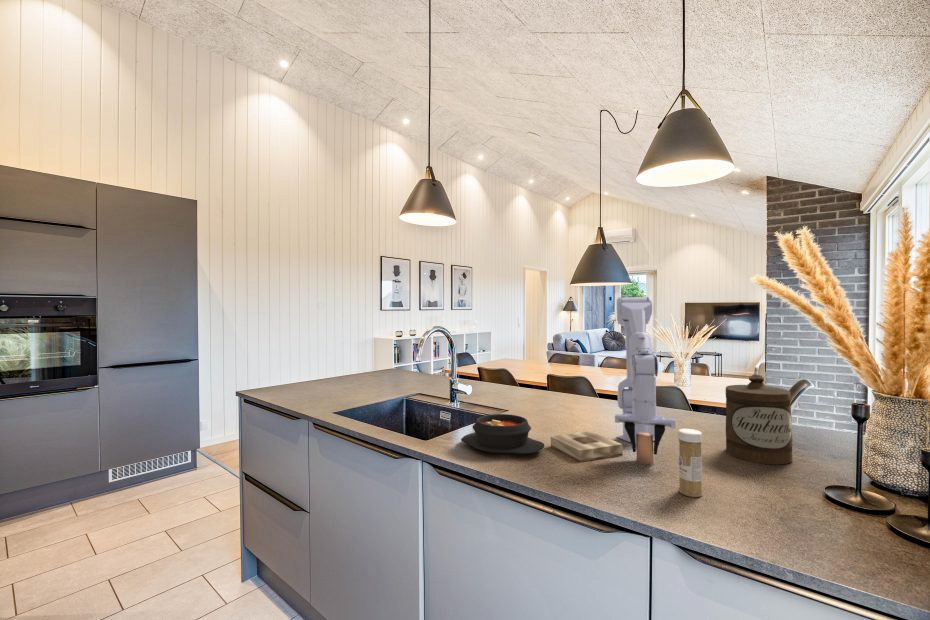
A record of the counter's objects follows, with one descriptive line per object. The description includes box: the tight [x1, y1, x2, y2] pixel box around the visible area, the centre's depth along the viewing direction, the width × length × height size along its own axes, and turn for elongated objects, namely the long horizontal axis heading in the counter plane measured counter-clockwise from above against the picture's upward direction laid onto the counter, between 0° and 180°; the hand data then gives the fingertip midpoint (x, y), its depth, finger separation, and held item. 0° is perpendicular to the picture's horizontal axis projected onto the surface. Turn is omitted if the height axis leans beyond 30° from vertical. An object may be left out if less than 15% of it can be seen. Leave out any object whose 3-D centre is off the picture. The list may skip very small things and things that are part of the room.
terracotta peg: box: [636, 433, 654, 465], centre depth 109 cm, size 4×4×7 cm
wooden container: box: [725, 373, 793, 465], centre depth 114 cm, size 15×15×22 cm
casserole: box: [460, 413, 545, 455], centre depth 121 cm, size 25×19×8 cm
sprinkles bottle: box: [677, 428, 703, 498], centre depth 90 cm, size 5×5×14 cm
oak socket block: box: [550, 431, 624, 463], centre depth 118 cm, size 14×14×3 cm
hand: (644, 452), depth 109 cm, fingers open, 4 cm apart
